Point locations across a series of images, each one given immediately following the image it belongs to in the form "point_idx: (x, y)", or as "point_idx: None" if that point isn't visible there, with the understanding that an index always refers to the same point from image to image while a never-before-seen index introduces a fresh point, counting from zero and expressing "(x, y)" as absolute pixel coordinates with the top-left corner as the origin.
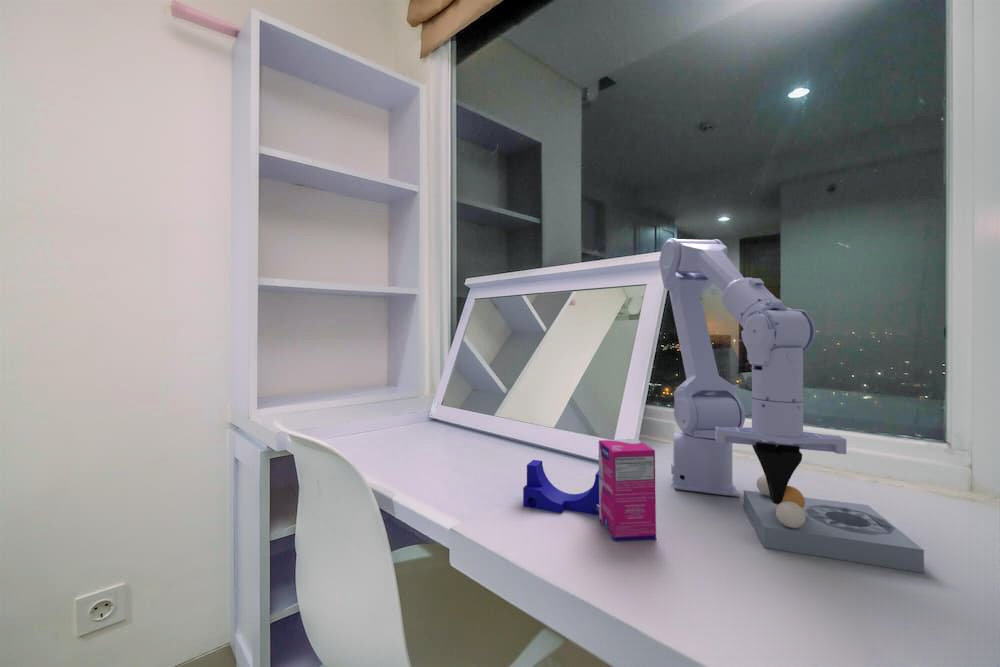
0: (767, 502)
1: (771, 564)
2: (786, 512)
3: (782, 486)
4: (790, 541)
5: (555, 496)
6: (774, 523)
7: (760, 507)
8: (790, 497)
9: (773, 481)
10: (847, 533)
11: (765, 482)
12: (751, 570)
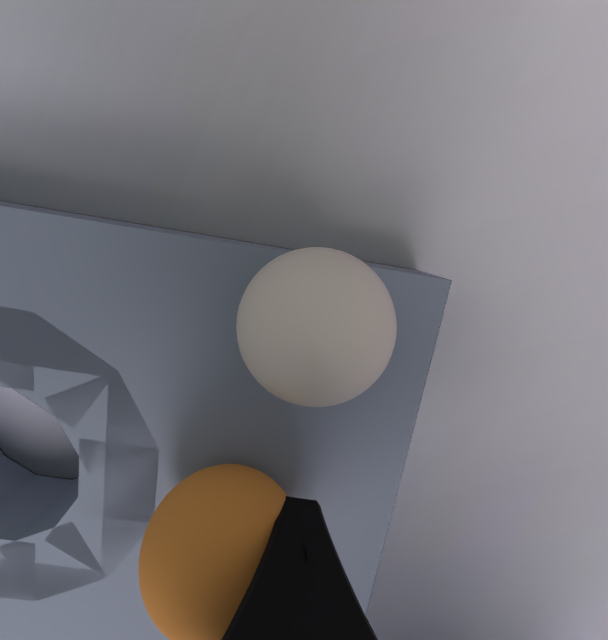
0: None
1: (454, 125)
2: (368, 276)
3: (279, 585)
4: None
5: None
6: None
7: (357, 514)
8: (234, 518)
9: (349, 626)
10: (57, 290)
11: None
12: (563, 49)
